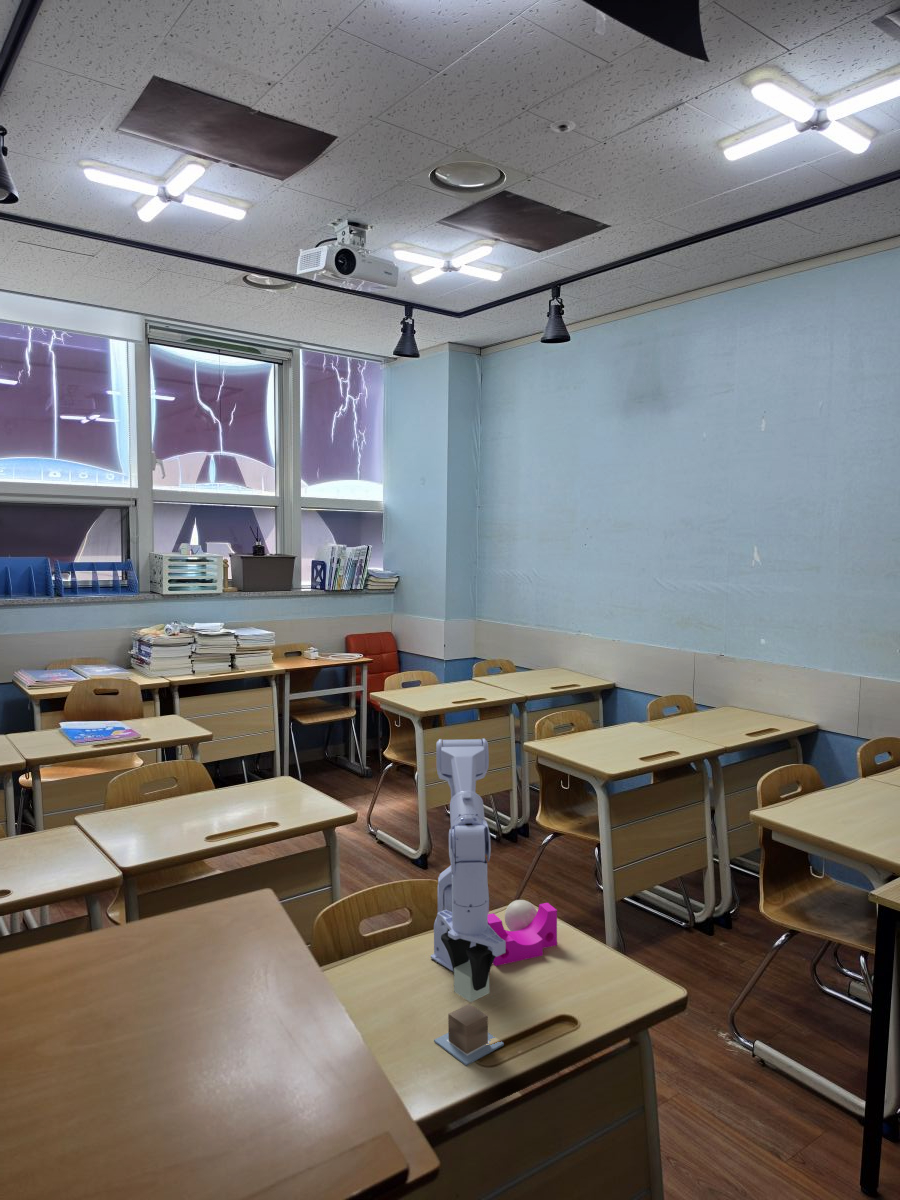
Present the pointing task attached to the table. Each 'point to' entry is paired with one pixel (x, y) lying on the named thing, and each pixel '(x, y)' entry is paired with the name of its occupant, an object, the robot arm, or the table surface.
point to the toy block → (527, 936)
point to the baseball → (519, 915)
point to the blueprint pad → (461, 1055)
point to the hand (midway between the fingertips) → (470, 982)
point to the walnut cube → (468, 1028)
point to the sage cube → (467, 983)
